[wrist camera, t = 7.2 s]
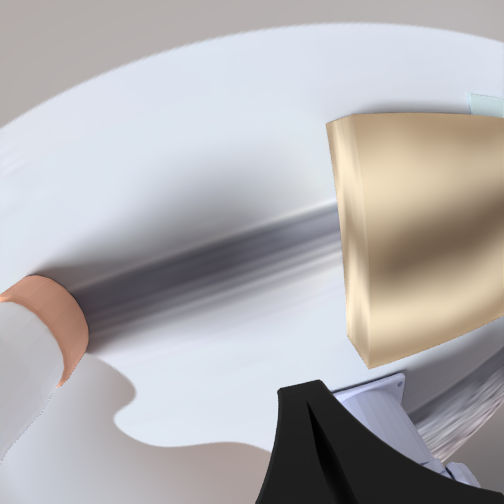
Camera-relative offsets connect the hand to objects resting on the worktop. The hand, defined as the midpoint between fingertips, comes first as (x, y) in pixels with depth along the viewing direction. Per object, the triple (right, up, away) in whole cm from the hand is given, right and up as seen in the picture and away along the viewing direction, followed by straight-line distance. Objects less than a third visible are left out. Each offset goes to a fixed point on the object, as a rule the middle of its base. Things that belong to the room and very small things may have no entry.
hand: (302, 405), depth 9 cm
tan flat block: (+10, +7, +10) cm, 15 cm away
